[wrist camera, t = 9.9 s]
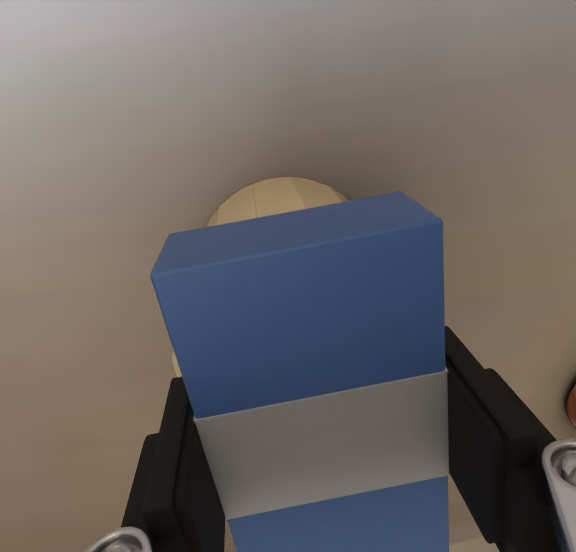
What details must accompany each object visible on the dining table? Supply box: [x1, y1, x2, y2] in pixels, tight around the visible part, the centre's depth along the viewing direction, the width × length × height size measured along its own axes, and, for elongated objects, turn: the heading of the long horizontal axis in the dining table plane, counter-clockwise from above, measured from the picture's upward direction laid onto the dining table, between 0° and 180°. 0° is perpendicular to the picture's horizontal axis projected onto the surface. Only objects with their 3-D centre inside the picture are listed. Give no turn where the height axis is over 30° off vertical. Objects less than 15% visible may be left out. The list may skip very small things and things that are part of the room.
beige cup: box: [172, 177, 349, 377], centre depth 17 cm, size 8×8×8 cm
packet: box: [150, 192, 450, 552], centre depth 11 cm, size 10×6×2 cm, turn 9°
